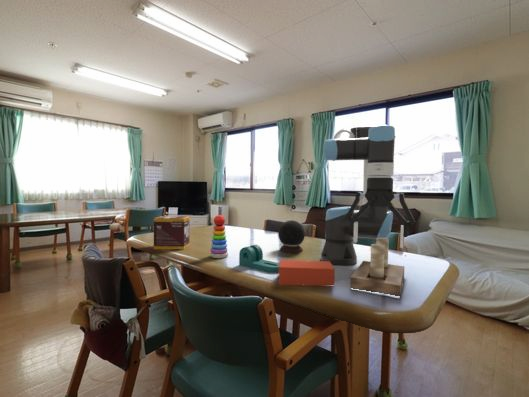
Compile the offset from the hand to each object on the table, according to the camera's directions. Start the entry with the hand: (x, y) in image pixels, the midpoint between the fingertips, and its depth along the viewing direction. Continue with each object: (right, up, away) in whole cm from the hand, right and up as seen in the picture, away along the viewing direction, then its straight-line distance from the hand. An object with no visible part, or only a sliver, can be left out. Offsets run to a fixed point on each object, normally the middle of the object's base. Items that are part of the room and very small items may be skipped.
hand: (377, 244), depth 88 cm
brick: (-22, -14, +7) cm, 27 cm away
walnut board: (+3, -14, +5) cm, 15 cm away
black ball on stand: (-22, -12, +50) cm, 56 cm away
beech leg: (0, -14, 0) cm, 14 cm away
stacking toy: (-56, -12, +37) cm, 69 cm away
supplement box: (-83, -11, +55) cm, 100 cm away
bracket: (-37, -13, +22) cm, 45 cm away
